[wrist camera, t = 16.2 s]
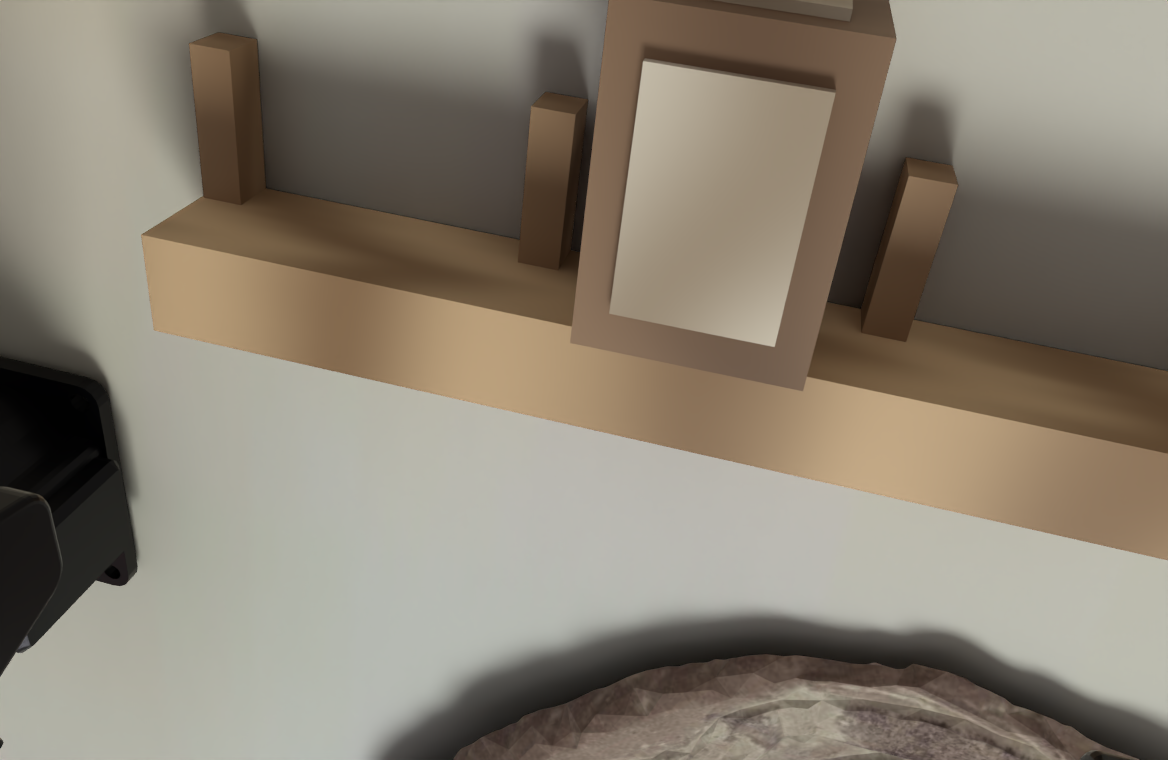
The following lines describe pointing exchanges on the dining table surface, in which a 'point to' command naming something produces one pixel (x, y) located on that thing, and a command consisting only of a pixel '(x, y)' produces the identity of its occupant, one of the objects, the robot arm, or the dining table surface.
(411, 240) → the rail
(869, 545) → the dining table surface
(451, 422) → the dining table surface
